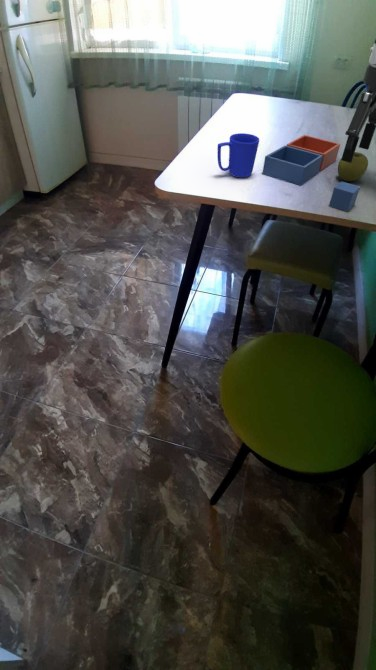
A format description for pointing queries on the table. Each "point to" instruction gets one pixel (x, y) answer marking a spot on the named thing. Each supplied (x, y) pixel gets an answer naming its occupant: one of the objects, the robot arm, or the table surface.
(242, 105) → the table surface
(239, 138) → the mug
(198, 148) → the table surface
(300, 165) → the blue bin
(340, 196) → the block
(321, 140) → the red bin
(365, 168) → the apple
